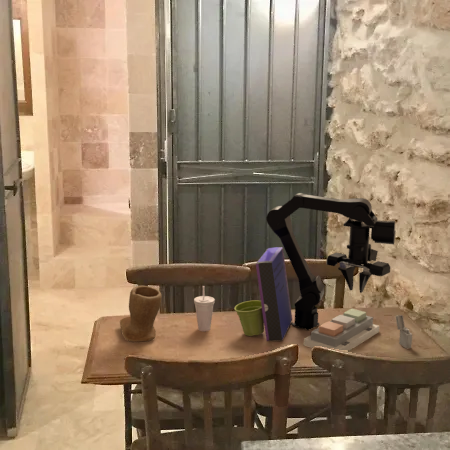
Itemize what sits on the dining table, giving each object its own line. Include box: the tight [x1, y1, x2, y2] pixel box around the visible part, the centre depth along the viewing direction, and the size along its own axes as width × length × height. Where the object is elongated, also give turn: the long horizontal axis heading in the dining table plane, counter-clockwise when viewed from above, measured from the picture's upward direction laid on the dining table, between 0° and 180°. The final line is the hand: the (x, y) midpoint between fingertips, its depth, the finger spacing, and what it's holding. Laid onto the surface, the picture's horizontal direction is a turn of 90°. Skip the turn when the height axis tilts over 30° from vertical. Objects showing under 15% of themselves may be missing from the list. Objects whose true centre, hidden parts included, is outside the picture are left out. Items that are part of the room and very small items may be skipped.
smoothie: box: [193, 285, 216, 332], centre depth 203 cm, size 6×6×14 cm
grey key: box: [331, 314, 355, 330], centre depth 197 cm, size 5×5×2 cm
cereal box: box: [255, 246, 293, 342], centre depth 201 cm, size 17×5×24 cm, turn 165°
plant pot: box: [234, 299, 265, 337], centre depth 200 cm, size 9×9×9 cm
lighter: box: [395, 314, 413, 350], centre depth 194 cm, size 7×2×8 cm, turn 15°
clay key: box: [318, 320, 343, 337], centre depth 192 cm, size 5×5×2 cm
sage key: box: [342, 308, 367, 323], centre depth 202 cm, size 5×5×2 cm
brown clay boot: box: [119, 285, 163, 343], centre depth 198 cm, size 15×12×15 cm
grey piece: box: [303, 315, 380, 352], centre depth 198 cm, size 12×24×4 cm, turn 140°
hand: (356, 291), depth 200 cm, fingers open, 3 cm apart
